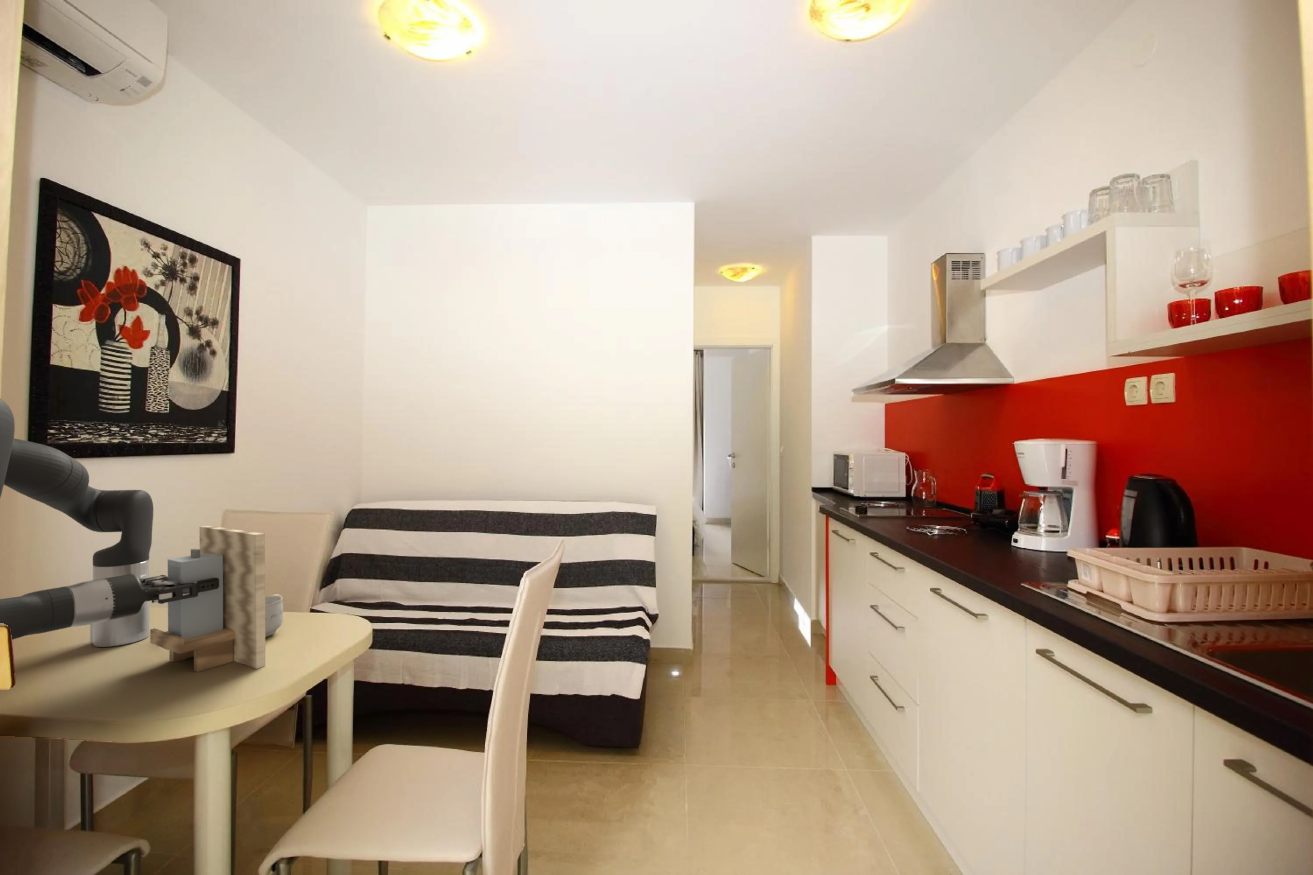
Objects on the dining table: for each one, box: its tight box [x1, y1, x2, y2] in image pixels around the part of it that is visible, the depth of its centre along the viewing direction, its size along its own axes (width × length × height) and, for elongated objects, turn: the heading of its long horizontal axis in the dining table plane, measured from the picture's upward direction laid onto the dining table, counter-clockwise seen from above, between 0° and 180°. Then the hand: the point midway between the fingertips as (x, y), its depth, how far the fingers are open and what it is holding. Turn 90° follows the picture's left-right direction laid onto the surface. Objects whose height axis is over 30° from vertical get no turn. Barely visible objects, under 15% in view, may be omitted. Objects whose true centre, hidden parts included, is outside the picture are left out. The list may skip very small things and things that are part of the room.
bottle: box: [167, 548, 223, 640], centre depth 116 cm, size 6×7×17 cm
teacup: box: [265, 593, 284, 638], centre depth 133 cm, size 14×11×8 cm
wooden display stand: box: [149, 525, 266, 673], centre depth 115 cm, size 22×11×26 cm, turn 61°
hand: (207, 580), depth 118 cm, fingers open, 8 cm apart
